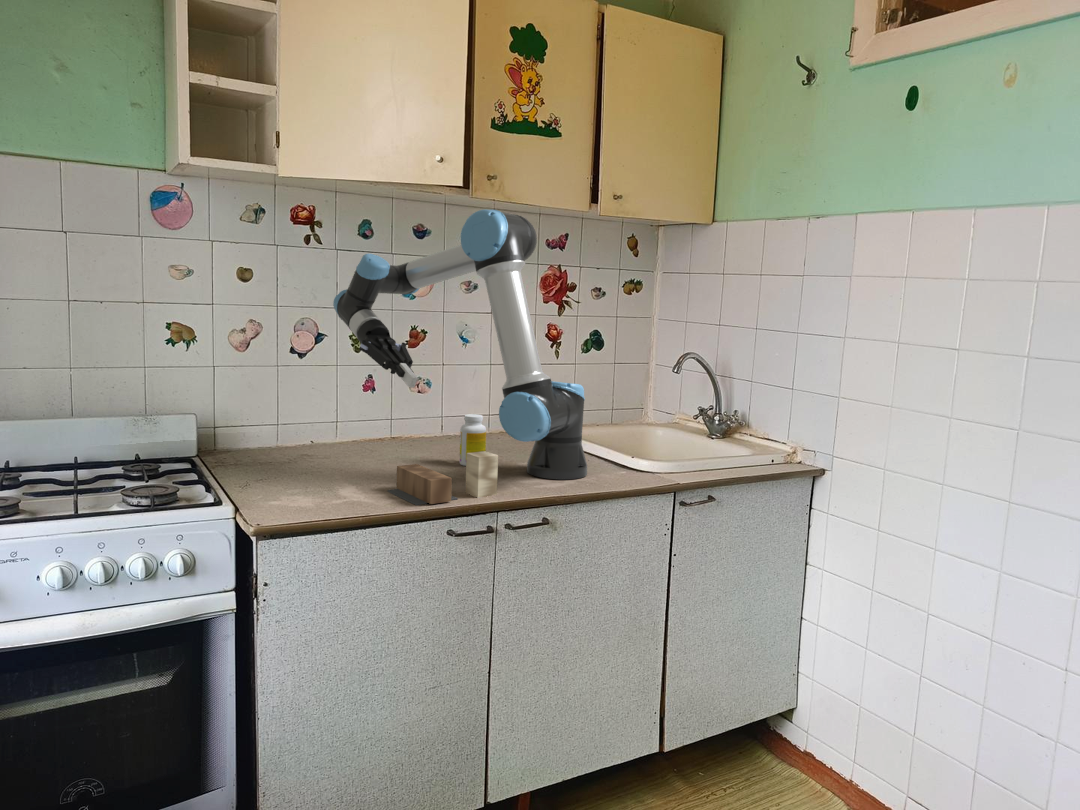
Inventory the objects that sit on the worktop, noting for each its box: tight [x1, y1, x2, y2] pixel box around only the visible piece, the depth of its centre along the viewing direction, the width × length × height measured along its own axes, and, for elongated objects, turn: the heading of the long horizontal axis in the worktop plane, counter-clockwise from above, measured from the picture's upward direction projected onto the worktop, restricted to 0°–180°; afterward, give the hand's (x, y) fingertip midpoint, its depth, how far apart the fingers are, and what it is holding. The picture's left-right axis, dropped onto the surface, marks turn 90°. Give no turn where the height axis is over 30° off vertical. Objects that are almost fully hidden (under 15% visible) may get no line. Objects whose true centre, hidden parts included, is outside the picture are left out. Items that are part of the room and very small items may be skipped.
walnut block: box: [396, 463, 453, 505], centre depth 170 cm, size 5×5×15 cm
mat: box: [386, 488, 458, 506], centre depth 171 cm, size 10×13×1 cm
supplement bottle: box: [459, 413, 487, 467], centre depth 202 cm, size 7×7×13 cm
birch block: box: [464, 450, 499, 499], centre depth 174 cm, size 5×5×9 cm
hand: (413, 382), depth 186 cm, fingers closed
